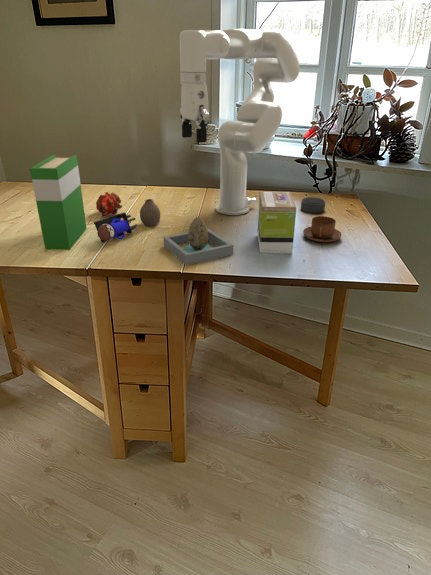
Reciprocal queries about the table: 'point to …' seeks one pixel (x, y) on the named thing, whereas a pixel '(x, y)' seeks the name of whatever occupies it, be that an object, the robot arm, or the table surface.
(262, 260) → the table surface
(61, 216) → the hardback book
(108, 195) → the dragon fruit
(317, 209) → the smart speaker
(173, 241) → the walled pen
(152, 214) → the vase
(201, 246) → the decorative egg
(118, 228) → the character figurine
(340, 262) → the table surface
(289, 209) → the tea box
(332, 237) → the cup and saucer
